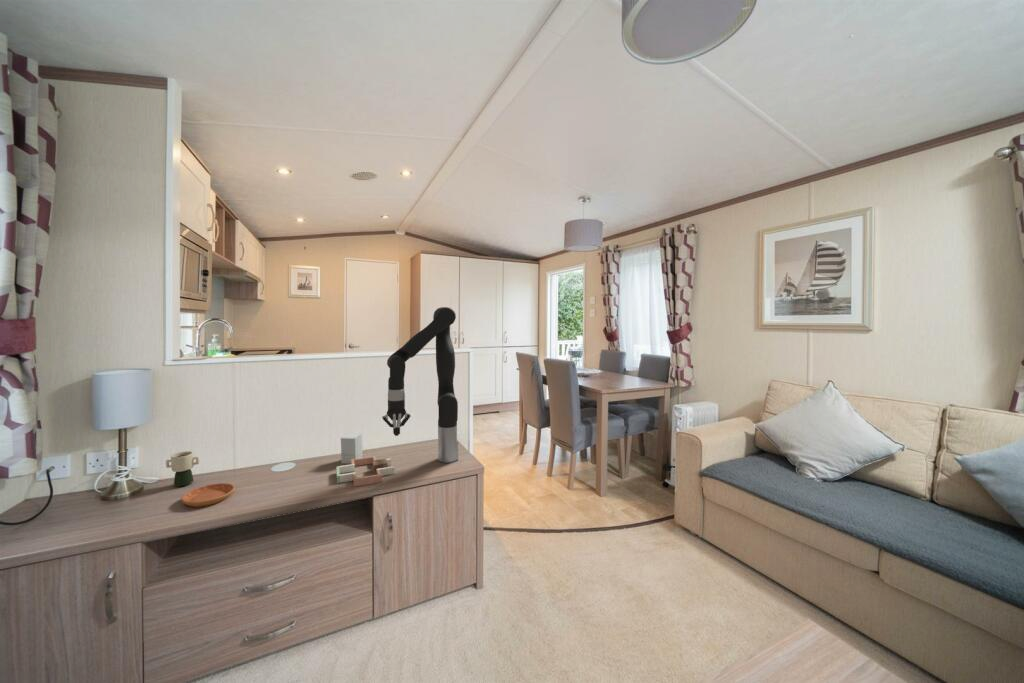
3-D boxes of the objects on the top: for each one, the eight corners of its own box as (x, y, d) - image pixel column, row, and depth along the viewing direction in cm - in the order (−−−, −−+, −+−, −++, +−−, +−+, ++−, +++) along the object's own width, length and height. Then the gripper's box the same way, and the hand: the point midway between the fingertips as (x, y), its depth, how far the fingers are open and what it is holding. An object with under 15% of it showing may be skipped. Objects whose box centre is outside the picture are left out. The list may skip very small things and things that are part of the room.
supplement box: (363, 458, 190) (362, 433, 189) (355, 464, 183) (355, 438, 182) (348, 457, 191) (348, 433, 190) (340, 463, 184) (340, 437, 183)
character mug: (202, 478, 165) (201, 449, 164) (197, 485, 159) (195, 455, 158) (170, 483, 161) (169, 453, 160) (163, 490, 154) (161, 459, 154)
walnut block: (386, 467, 179) (386, 458, 179) (387, 472, 174) (387, 463, 174) (372, 469, 177) (372, 460, 177) (373, 474, 171) (373, 465, 171)
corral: (389, 459, 189) (388, 453, 188) (396, 479, 167) (396, 472, 167) (336, 467, 178) (336, 461, 178) (337, 489, 157) (337, 482, 156)
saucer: (242, 488, 157) (241, 481, 157) (221, 507, 142) (221, 499, 142) (197, 491, 154) (197, 484, 154) (171, 511, 139) (171, 503, 138)
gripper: (409, 395, 182) (409, 431, 184) (380, 397, 177) (380, 434, 178) (412, 398, 176) (412, 435, 177) (382, 401, 170) (382, 439, 171)
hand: (396, 435), depth 177 cm, fingers closed
